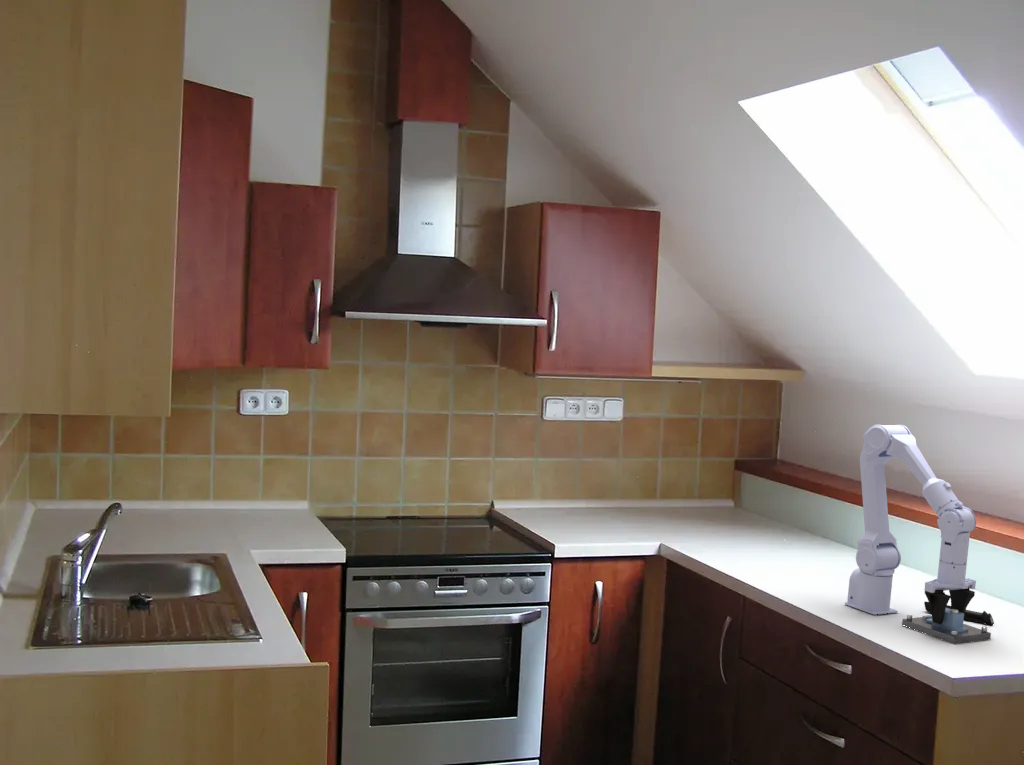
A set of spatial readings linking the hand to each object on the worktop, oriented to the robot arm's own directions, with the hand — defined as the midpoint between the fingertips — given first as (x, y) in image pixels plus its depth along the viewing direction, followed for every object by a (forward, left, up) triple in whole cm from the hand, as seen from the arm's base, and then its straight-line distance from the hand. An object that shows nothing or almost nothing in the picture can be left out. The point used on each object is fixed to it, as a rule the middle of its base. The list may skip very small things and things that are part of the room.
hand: (946, 621), depth 248 cm
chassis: (0, 0, -2) cm, 2 cm away
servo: (0, 0, -2) cm, 2 cm away
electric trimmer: (-8, +14, -3) cm, 16 cm away
